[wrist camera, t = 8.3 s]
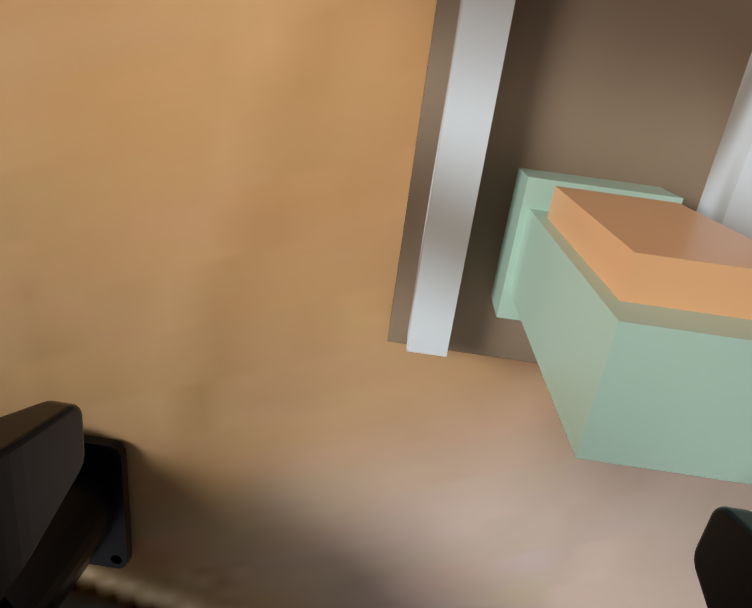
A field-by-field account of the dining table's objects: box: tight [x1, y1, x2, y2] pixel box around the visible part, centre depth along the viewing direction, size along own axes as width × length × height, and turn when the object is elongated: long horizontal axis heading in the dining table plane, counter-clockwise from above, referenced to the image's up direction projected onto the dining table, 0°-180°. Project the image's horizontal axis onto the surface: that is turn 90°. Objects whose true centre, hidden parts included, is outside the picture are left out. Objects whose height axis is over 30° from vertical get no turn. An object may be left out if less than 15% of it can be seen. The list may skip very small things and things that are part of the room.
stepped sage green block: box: [491, 168, 752, 485], centre depth 13 cm, size 4×4×9 cm
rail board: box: [388, 0, 752, 363], centre depth 11 cm, size 20×10×10 cm, turn 173°
